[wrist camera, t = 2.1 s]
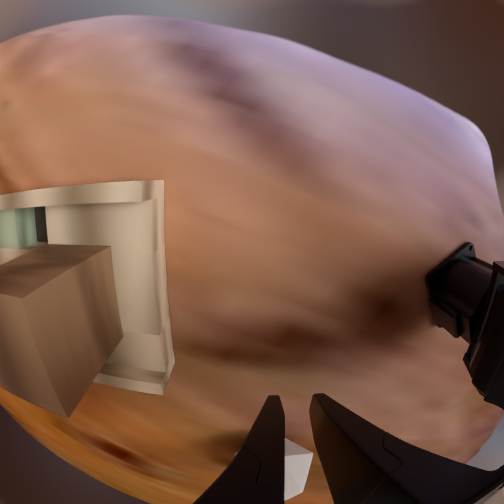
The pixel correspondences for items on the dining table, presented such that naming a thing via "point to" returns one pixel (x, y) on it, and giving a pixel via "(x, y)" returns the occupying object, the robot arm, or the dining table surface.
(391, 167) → the dining table surface
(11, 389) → the walnut block
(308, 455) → the die
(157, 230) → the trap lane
